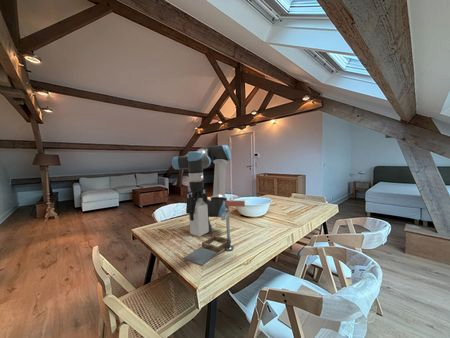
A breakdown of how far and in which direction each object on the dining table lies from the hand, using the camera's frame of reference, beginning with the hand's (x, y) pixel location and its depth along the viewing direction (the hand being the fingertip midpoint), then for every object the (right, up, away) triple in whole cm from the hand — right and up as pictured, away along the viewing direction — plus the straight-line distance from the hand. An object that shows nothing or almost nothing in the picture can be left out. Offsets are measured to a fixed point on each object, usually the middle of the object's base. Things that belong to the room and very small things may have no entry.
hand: (198, 223), depth 98 cm
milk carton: (0, -5, 0) cm, 5 cm away
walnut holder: (+9, -17, +13) cm, 23 cm away
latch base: (+16, -17, +7) cm, 25 cm away
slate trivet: (+1, -18, +1) cm, 18 cm away
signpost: (+19, -16, +2) cm, 25 cm away
